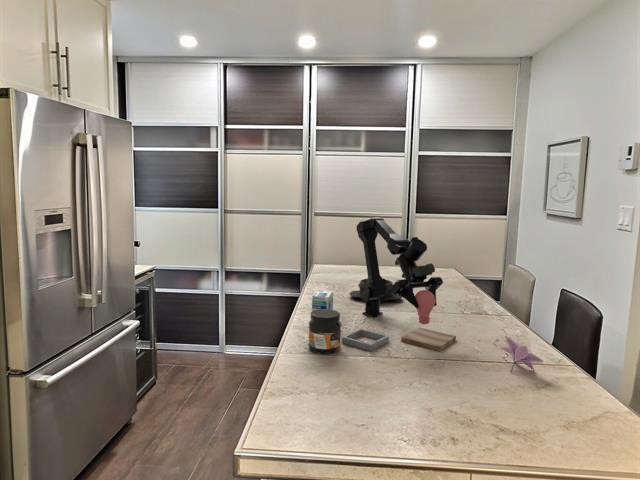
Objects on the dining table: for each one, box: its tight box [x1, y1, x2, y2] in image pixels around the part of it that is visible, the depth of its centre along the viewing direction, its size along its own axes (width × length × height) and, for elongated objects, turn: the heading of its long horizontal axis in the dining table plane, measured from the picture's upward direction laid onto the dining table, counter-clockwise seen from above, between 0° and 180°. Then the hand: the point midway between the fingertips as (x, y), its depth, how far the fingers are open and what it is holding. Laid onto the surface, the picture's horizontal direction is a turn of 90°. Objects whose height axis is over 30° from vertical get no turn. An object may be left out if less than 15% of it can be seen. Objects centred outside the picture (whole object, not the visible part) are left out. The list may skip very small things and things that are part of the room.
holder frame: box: [341, 328, 390, 352], centre depth 151 cm, size 12×12×2 cm
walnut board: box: [400, 327, 457, 352], centre depth 154 cm, size 14×14×2 cm
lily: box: [499, 335, 545, 372], centre depth 131 cm, size 12×12×10 cm
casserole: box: [348, 278, 403, 303], centre depth 209 cm, size 25×19×8 cm
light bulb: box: [414, 289, 435, 325], centre depth 152 cm, size 7×7×12 cm
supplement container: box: [308, 309, 342, 355], centre depth 144 cm, size 10×10×12 cm
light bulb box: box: [311, 289, 334, 312], centre depth 174 cm, size 11×7×11 cm, turn 168°
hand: (426, 306), depth 151 cm, fingers closed on light bulb, 7 cm apart
